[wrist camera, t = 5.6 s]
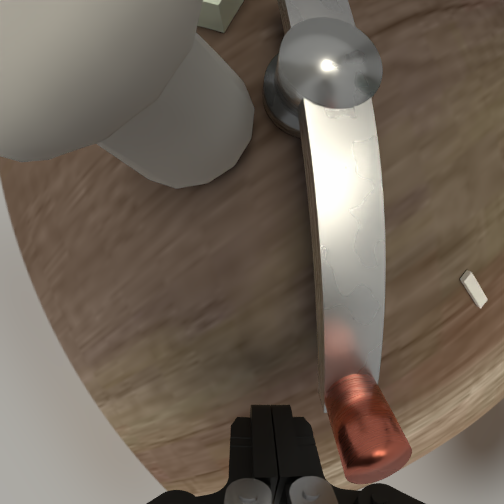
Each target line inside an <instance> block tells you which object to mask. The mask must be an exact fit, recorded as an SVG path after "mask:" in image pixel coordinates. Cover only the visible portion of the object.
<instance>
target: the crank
mask: <svg viewBox="0 0 504 504" xmlns="http://www.w3.org/2000/svg"><path fill="white" fill-rule="evenodd" d="M278 5H279V10H280V15H281V20H282V25H283V30H284V35H285V36H284V38H283V40H282V43H281V47H280V51H279V56H278V61H277V65H276V70H275V75H274V87H275V92H276V94H277V97H278V99H279V101H280V102H281V103H282V105H283V106H284V107H285V108H286V109H287V110H288V111H289V112H290V113H291V114H293V115H294V116H296V117H298V120H299V127H300V135H301V143H302V151H303V159H304V167H305V176H306V185H307V195H308V205H309V216H310V227H311V239H312V252H313V266H314V282H315V300H316V322H317V352H318V393H319V396H320V400H321V403H322V407H323V411H324V413H328V416H329V420H330V423H331V427H332V430H333V434H334V437H335V441H336V444H337V448H338V452H339V455H340V459H341V462H342V466H343V470H344V473H345V477H346V479H347V480H348V481H349V482H351V483H355V484H367V483H372V482H376V481H379V480H382V479H384V478H386V477H388V476H390V475H392V474H393V473H395V472H397V471H398V470H399V469H401V468H402V467H403V466H404V465H405V464H406V463H407V461H408V460H409V459H410V457H411V454H412V449H411V447H410V445H409V443H408V441H407V439H406V437H405V435H404V433H403V431H402V429H401V427H400V425H399V424H398V422H397V420H396V418H395V416H394V414H393V412H392V410H391V409H390V407H389V405H388V403H387V401H386V399H385V397H384V396H383V394H382V392H381V390H380V388H379V386H378V379H379V371H380V361H381V351H382V339H383V325H384V307H385V266H386V260H385V218H384V200H383V186H382V174H381V164H380V155H379V146H378V138H377V131H376V124H375V117H374V111H373V105H372V99H371V97H372V96H373V95H374V94H375V93H376V91H377V90H378V88H379V86H380V83H381V80H382V73H383V72H382V62H381V58H380V55H379V53H378V51H377V49H376V47H375V46H374V44H373V43H372V42H371V40H370V39H369V38H368V37H367V36H366V35H365V34H364V33H363V32H362V31H360V30H359V29H357V28H356V27H355V23H354V20H353V16H352V13H351V9H350V6H349V3H348V0H278Z"/></svg>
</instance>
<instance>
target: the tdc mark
mask: <svg viewBox="0 0 504 504" xmlns="http://www.w3.org/2000/svg"><path fill="white" fill-rule="evenodd" d="M460 281H461V282H462V284H463V285H464V287H465V288H466V290H467V291H468V293H469V294H470V296H471V297H472V299H473V301H474V302H475V304H476V305H477V306H478V307H479V308H482V306H483V305H484V304H485V303H486V301H487V300H488V299H487V297H486V296H485V294H484V292H483V290H482V289H481V287H480V285H479V284H478V282H477V280H476V279H475V277H474V275H473V274H472V272H470V271H468V270H466V272H465V273H464V274H463V276H462V277H461V278H460Z"/></svg>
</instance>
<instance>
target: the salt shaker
mask: <svg viewBox="0 0 504 504" xmlns="http://www.w3.org/2000/svg"><path fill="white" fill-rule="evenodd" d="M202 2H203V0H0V156H2V157H5V158H9V159H12V160H16V161H19V162H28V161H39V160H49V159H52V158H55V157H57V156H60V155H63V154H66V153H69V152H71V151H74V150H77V149H80V148H83V147H86V146H89V145H93V144H97V145H99V146H100V147H102V148H103V149H105V150H106V151H108V152H109V153H111V154H112V155H114V156H115V157H116V158H118V159H119V160H121V161H122V162H124V163H125V164H127V165H128V166H130V167H131V168H132V169H134V170H135V171H137V172H138V173H140V174H141V175H143V176H144V177H146V178H147V179H149V180H151V181H154V182H157V183H160V184H164V185H167V186H170V187H173V188H176V189H178V188H184V187H189V186H195V185H201V184H207V183H209V182H210V181H212V180H214V179H215V178H217V177H218V176H220V175H221V174H223V173H224V172H226V171H227V170H229V169H230V168H232V167H234V166H235V164H236V163H237V161H238V159H239V158H240V156H241V154H242V153H243V151H244V150H245V148H246V146H247V145H248V143H249V142H250V140H251V136H252V127H253V118H254V109H255V108H254V106H253V104H252V101H251V99H250V96H249V94H248V91H247V89H246V86H245V84H244V82H243V81H242V79H241V78H240V77H239V76H238V75H237V74H236V73H235V72H234V71H233V70H232V69H231V67H230V66H229V65H228V64H227V63H226V62H225V61H224V60H223V59H222V58H221V57H220V56H219V55H218V54H217V53H216V52H215V51H214V50H213V49H212V48H211V47H210V46H209V45H208V44H207V43H206V42H205V41H204V40H203V39H202V38H201V37H200V36H199V35H198V34H197V33H196V29H197V24H198V20H199V15H200V11H201V6H202Z"/></svg>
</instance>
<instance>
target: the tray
mask: <svg viewBox="0 0 504 504" xmlns="http://www.w3.org/2000/svg"><path fill="white" fill-rule="evenodd" d="M243 1H244V0H203V2H202V6H201V11H200V15H199V20H198V24H197V26H201V27H204V28H208V29H212V30H216V31H219V32H223V33H225V31H226V29H227V28H228V26H229V24H230V23H231V21H232V19H233V18H234V16H235V14H236V13H237V11H238V9H239V8H240V6H241V5H242V3H243Z"/></svg>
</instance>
